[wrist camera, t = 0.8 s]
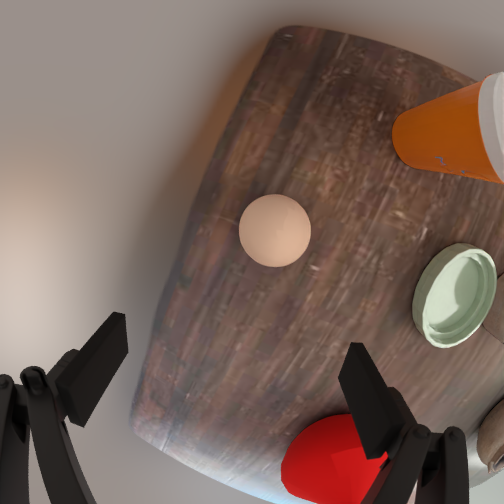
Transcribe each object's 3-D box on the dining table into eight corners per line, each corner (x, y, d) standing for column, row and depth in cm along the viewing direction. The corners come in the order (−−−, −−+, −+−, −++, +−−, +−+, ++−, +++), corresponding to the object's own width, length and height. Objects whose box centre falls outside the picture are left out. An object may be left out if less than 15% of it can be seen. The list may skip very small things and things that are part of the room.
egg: (228, 229, 30) (219, 248, 23) (266, 178, 29) (271, 181, 21) (277, 265, 31) (284, 295, 24) (315, 217, 30) (336, 233, 22)
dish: (438, 226, 30) (454, 232, 27) (493, 260, 31) (508, 267, 28) (392, 325, 34) (403, 339, 30) (454, 341, 35) (465, 353, 31)
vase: (255, 444, 40) (256, 540, 22) (332, 380, 36) (369, 494, 18) (330, 466, 43) (346, 542, 24) (401, 413, 39) (441, 493, 20)
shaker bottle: (374, 106, 26) (504, 54, 7) (433, 101, 26) (558, 73, 6) (393, 183, 29) (535, 211, 9) (449, 171, 28) (579, 190, 9)
